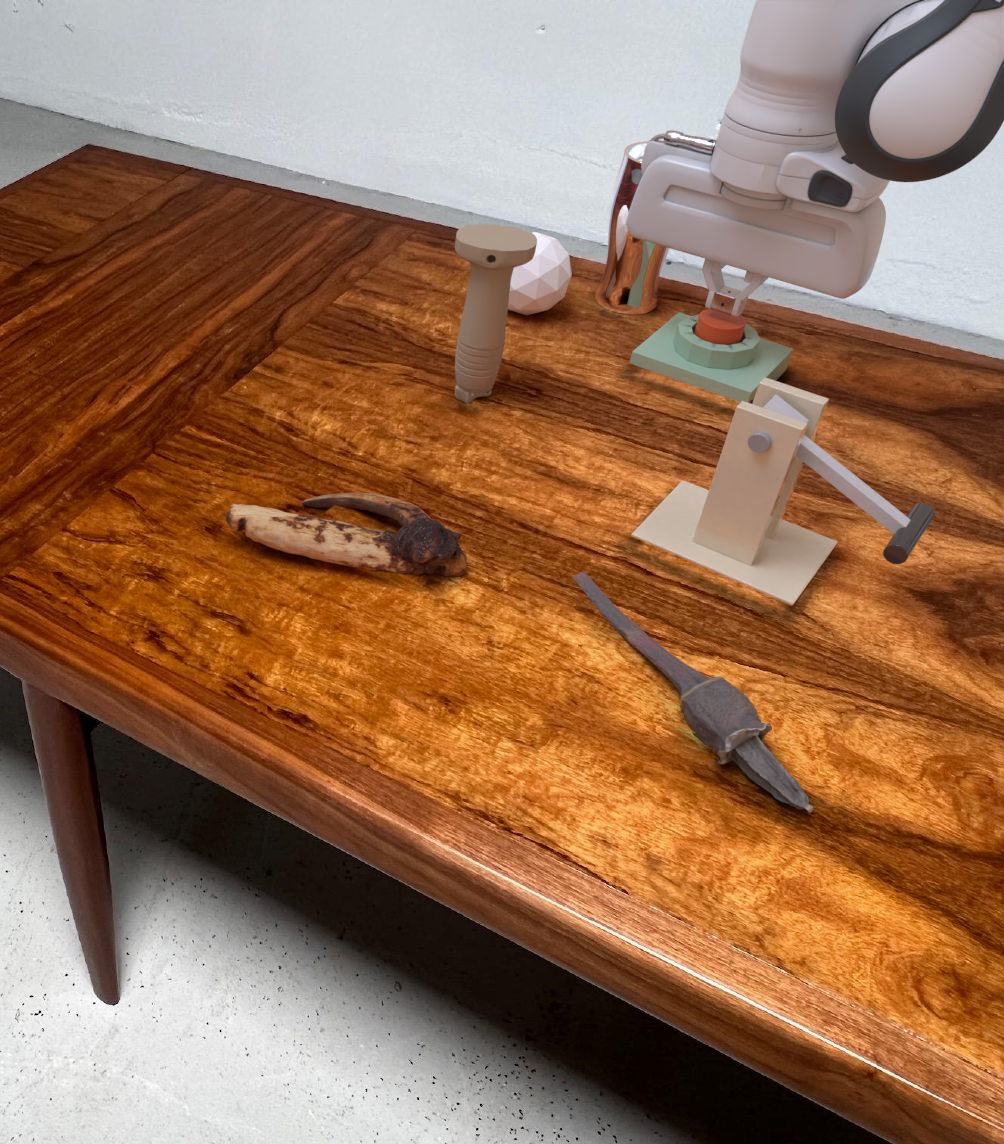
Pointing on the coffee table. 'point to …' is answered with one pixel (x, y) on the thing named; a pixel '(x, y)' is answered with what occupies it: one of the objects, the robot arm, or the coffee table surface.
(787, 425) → the lever stand
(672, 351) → the button housing
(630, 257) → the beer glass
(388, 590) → the coffee table surface
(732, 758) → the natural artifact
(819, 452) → the tap lever
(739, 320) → the button
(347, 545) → the lashed bone hook
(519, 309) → the geometric ball
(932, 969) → the coffee table surface
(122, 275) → the coffee table surface
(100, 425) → the coffee table surface
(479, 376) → the handle
